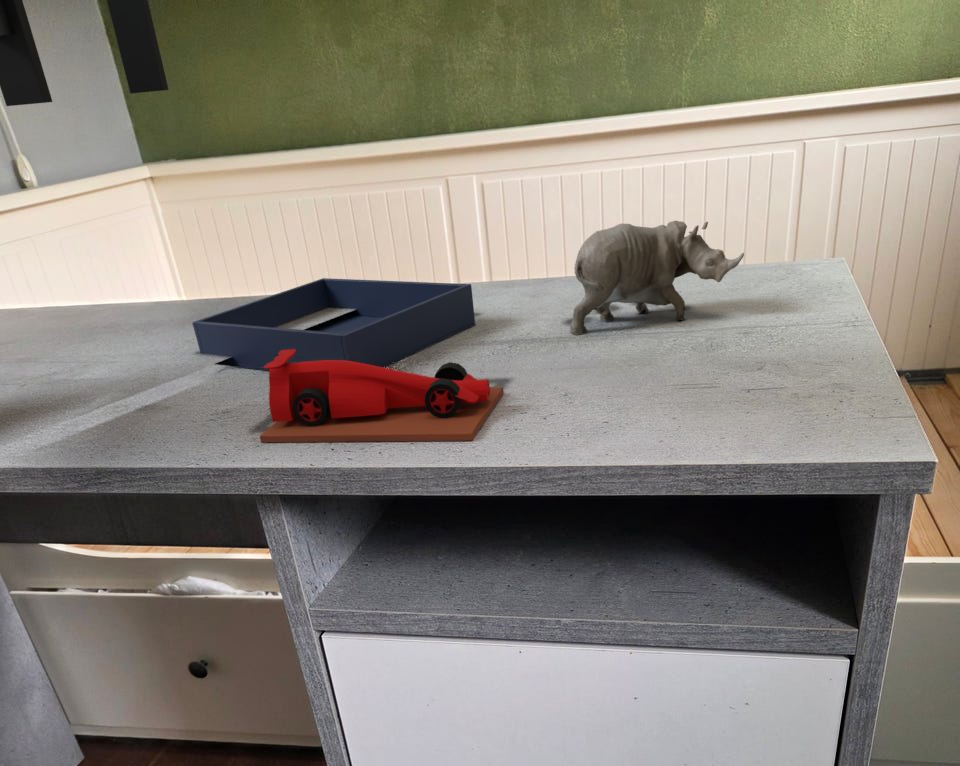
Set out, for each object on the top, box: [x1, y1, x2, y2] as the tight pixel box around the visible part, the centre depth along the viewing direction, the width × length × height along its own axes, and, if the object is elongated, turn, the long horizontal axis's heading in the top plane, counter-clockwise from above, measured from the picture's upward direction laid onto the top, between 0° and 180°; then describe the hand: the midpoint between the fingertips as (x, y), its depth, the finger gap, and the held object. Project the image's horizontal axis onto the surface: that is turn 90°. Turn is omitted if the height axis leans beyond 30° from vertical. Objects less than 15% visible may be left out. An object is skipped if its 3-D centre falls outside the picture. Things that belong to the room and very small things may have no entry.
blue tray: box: [191, 277, 476, 372], centre depth 95 cm, size 22×20×4 cm
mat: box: [259, 386, 505, 443], centre depth 74 cm, size 18×11×1 cm, turn 76°
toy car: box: [264, 349, 491, 426], centre depth 72 cm, size 6×18×5 cm, turn 83°
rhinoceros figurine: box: [569, 220, 745, 336], centre depth 89 cm, size 8×14×15 cm
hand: (95, 98), depth 58 cm, fingers open, 13 cm apart
